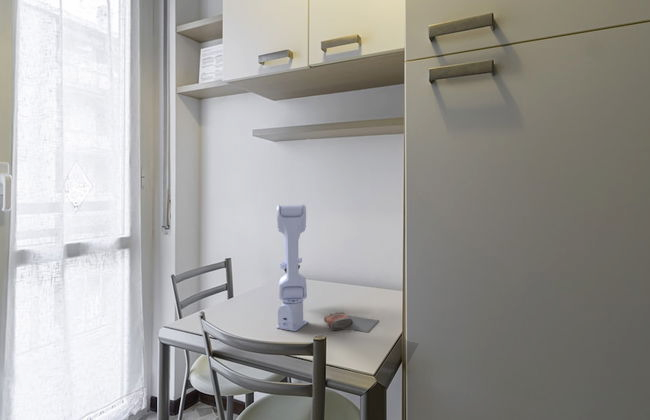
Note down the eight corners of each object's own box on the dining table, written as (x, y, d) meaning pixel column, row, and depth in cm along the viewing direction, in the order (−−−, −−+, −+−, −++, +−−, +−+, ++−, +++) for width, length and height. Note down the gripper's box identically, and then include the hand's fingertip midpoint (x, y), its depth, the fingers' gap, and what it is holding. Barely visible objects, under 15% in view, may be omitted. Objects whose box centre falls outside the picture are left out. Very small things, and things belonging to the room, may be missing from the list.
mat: (368, 332, 125) (368, 331, 125) (330, 326, 131) (330, 325, 131) (378, 320, 136) (378, 320, 136) (343, 315, 142) (343, 314, 142)
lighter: (331, 322, 126) (321, 312, 136) (332, 331, 126) (321, 321, 136) (352, 317, 129) (341, 308, 138) (353, 326, 129) (341, 317, 139)
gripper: (291, 253, 142) (291, 288, 143) (308, 247, 156) (308, 279, 156) (275, 252, 145) (276, 286, 146) (293, 246, 158) (293, 278, 159)
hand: (292, 282), depth 151 cm, fingers closed
